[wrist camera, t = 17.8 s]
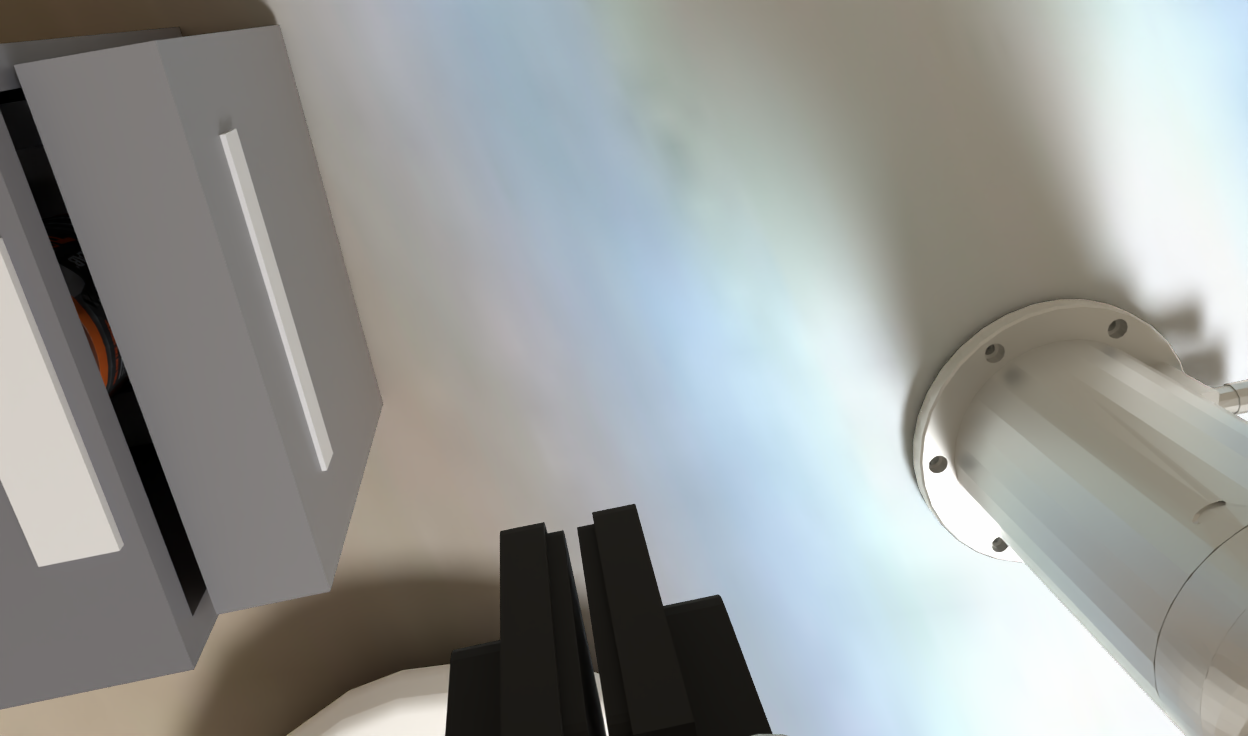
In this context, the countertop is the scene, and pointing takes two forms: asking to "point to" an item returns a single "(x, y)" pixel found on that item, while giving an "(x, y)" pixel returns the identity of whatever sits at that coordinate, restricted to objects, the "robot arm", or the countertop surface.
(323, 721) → the plate
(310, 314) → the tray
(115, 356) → the supplement bottle
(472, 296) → the countertop surface
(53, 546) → the box
